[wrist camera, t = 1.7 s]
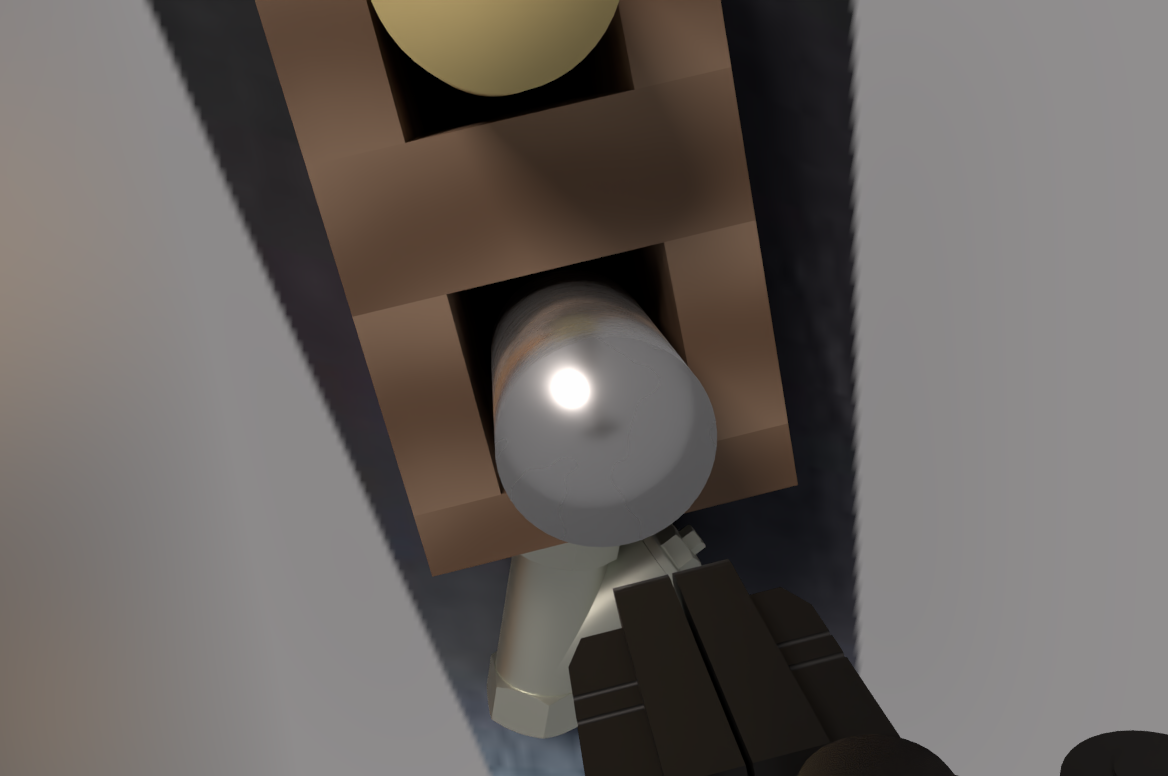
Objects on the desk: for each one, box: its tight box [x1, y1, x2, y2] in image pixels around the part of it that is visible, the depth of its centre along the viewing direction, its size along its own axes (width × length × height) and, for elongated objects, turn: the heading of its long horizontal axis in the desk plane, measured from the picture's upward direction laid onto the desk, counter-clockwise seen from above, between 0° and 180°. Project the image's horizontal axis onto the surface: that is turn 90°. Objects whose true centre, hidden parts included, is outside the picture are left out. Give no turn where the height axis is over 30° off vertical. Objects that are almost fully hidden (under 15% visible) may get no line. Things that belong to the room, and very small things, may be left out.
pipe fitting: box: [487, 524, 705, 738], centre depth 32 cm, size 8×4×7 cm
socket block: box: [255, 0, 798, 576], centre depth 25 cm, size 18×10×8 cm, turn 12°
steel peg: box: [491, 269, 717, 547], centre depth 22 cm, size 4×4×8 cm
